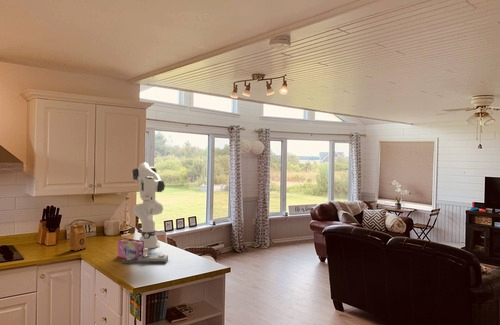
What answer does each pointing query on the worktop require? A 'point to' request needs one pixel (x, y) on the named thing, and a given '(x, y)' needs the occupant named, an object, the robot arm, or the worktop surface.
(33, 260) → the worktop surface
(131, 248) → the gum box
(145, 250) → the pin
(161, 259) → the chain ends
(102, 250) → the worktop surface
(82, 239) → the coffee package
